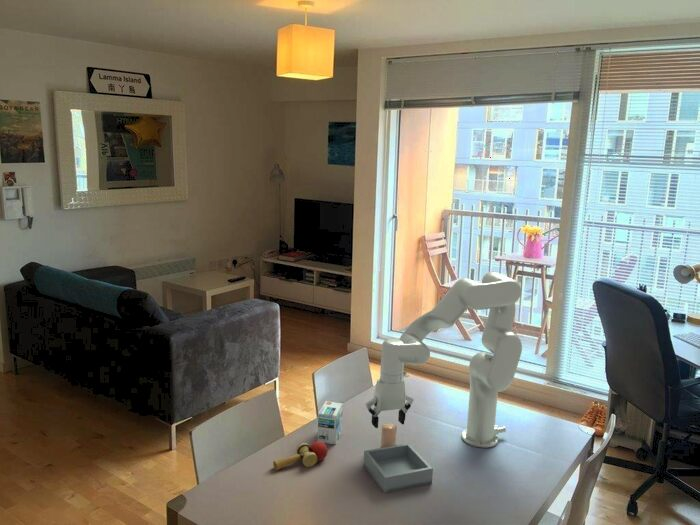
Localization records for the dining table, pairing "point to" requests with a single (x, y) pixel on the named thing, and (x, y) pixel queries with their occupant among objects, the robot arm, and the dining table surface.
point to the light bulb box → (330, 422)
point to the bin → (397, 467)
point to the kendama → (304, 455)
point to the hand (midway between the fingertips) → (388, 424)
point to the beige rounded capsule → (388, 435)
